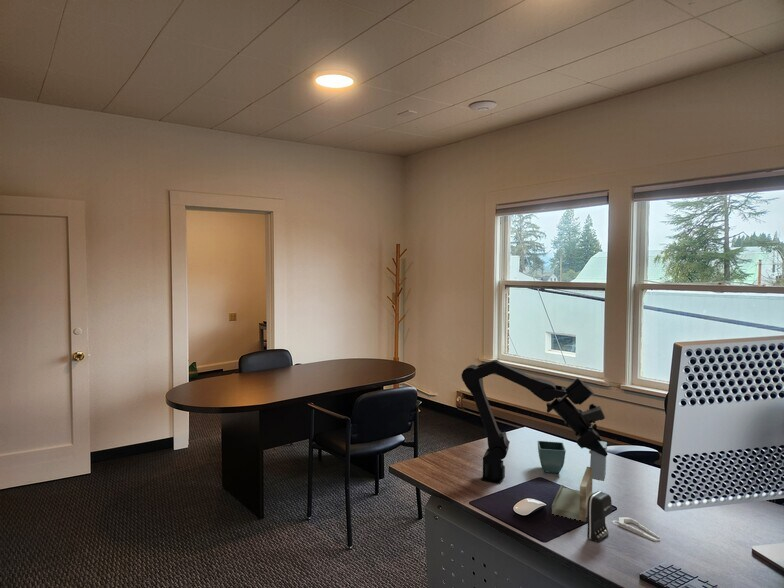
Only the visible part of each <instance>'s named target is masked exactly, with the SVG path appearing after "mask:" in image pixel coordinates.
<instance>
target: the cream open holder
mask: <svg viewBox="0 0 784 588" xmlns="http://www.w3.org/2000/svg"><path fill="white" fill-rule="evenodd" d="M592 477H593V467H590V466H586V469H585V472H584V474H583V476H582V480H581V482H580V484H579V489H574V488H573V489H572V488H567V487H564V484H560V486H559V488H558V490H557V492H556V495H555V497H554V499H553V501H552V504H551V515H552V514H554V515H553V516H556V515H559V516H558V517H561V516H563V517H562V518H565V517H567V518H566V519H570V518H571V519H570V520H574V519H576V521H579V520H581V521H580V522H584V523H586V521H587V519H588V516H587V513H588V498H589V496H590V495H592V494H593V479H592ZM586 518H587V519H586Z"/></svg>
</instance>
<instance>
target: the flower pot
mask: <svg viewBox="0 0 784 588" xmlns="http://www.w3.org/2000/svg"><path fill="white" fill-rule="evenodd" d="M537 450H538V451H537V452H538V458H539V462H540V466H541V468H542V470H543V472H544V473H556V474H560V472H561V471H562V470H563V467H564V464H565V458H566V452H567V451H566V448H565V445H564V442H560V441H548V440H547V441H546V440H537Z"/></svg>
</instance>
